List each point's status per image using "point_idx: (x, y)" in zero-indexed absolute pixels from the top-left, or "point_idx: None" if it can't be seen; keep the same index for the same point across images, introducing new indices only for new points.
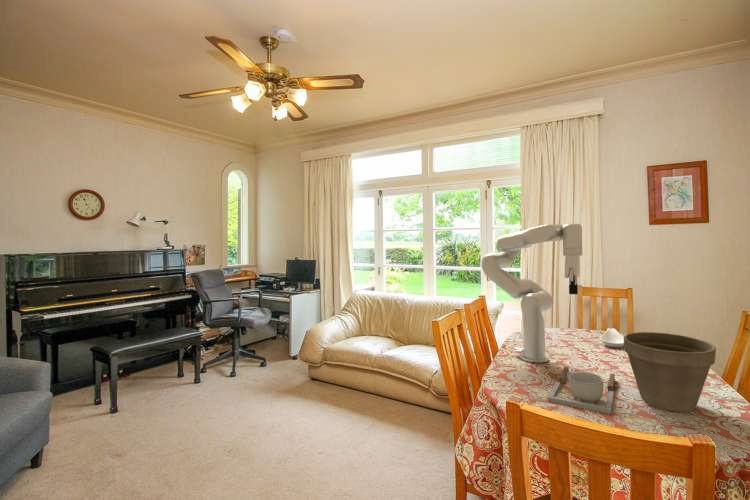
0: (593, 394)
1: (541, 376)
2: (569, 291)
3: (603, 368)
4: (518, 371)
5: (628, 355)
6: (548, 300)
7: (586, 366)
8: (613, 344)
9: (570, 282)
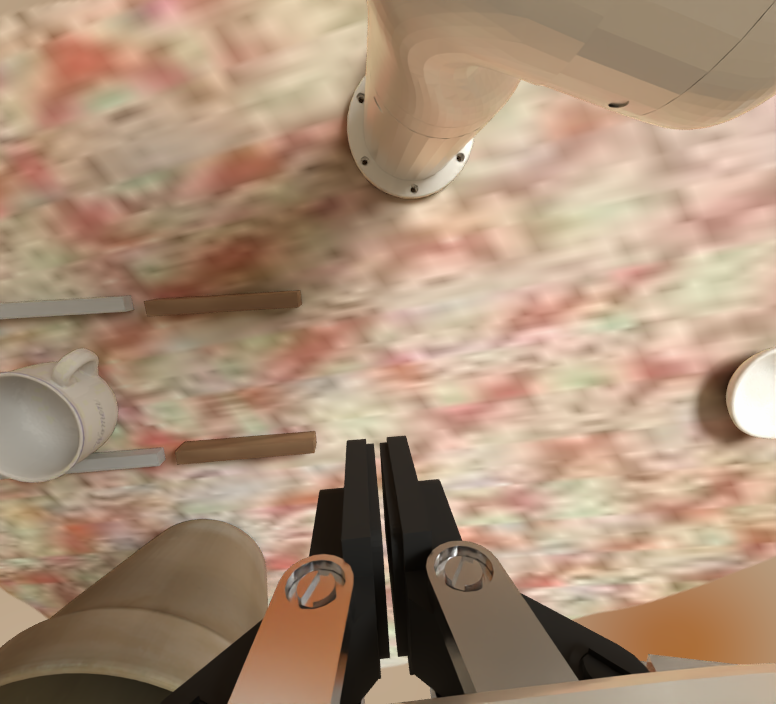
0: (18, 440)
1: (192, 222)
2: (347, 462)
3: (428, 396)
4: (189, 116)
5: (81, 608)
6: (629, 73)
7: (420, 343)
8: (727, 396)
9: (203, 675)
